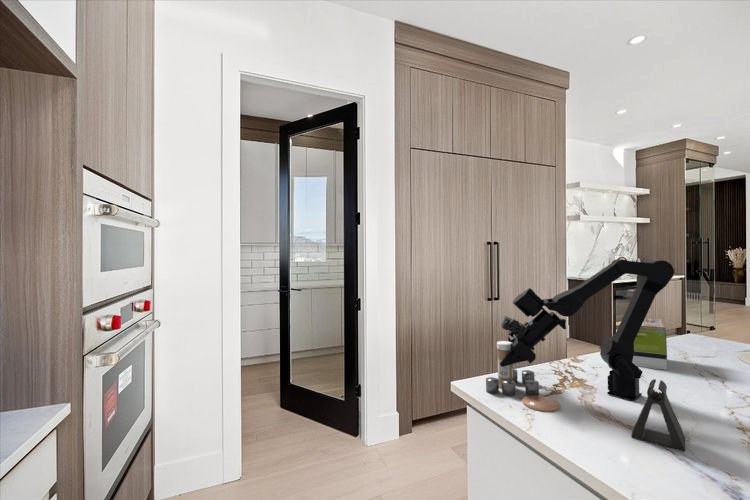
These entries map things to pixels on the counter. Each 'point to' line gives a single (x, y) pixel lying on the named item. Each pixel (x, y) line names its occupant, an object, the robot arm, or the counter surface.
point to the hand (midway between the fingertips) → (500, 363)
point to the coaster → (541, 403)
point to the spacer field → (509, 385)
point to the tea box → (651, 345)
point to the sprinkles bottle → (503, 350)
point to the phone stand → (675, 432)
